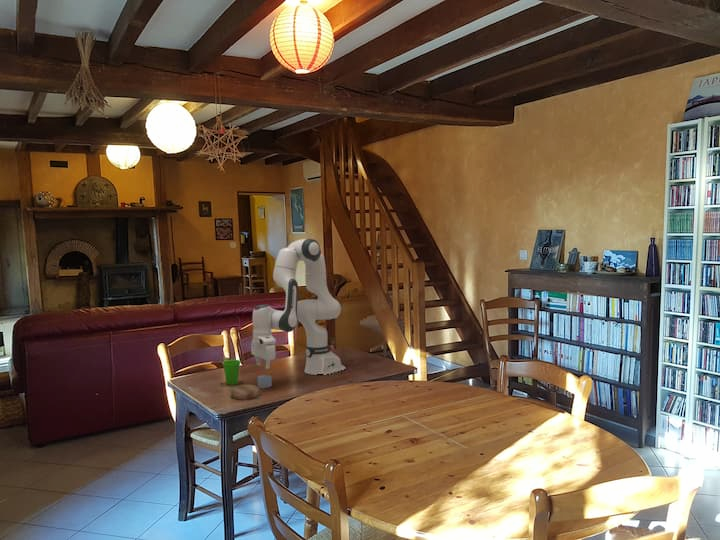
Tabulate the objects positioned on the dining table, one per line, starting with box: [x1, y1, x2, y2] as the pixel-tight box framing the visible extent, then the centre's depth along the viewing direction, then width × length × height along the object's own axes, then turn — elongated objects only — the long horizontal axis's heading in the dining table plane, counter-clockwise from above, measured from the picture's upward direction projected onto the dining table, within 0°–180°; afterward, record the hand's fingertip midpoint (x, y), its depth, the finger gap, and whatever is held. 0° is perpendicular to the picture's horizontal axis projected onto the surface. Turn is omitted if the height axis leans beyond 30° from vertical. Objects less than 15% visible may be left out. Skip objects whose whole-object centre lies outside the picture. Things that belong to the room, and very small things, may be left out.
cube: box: [257, 373, 273, 389], centre depth 248 cm, size 5×5×5 cm
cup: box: [222, 359, 242, 386], centre depth 253 cm, size 9×9×11 cm
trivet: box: [230, 384, 261, 401], centre depth 235 cm, size 13×13×3 cm
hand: (263, 366), depth 247 cm, fingers open, 8 cm apart
